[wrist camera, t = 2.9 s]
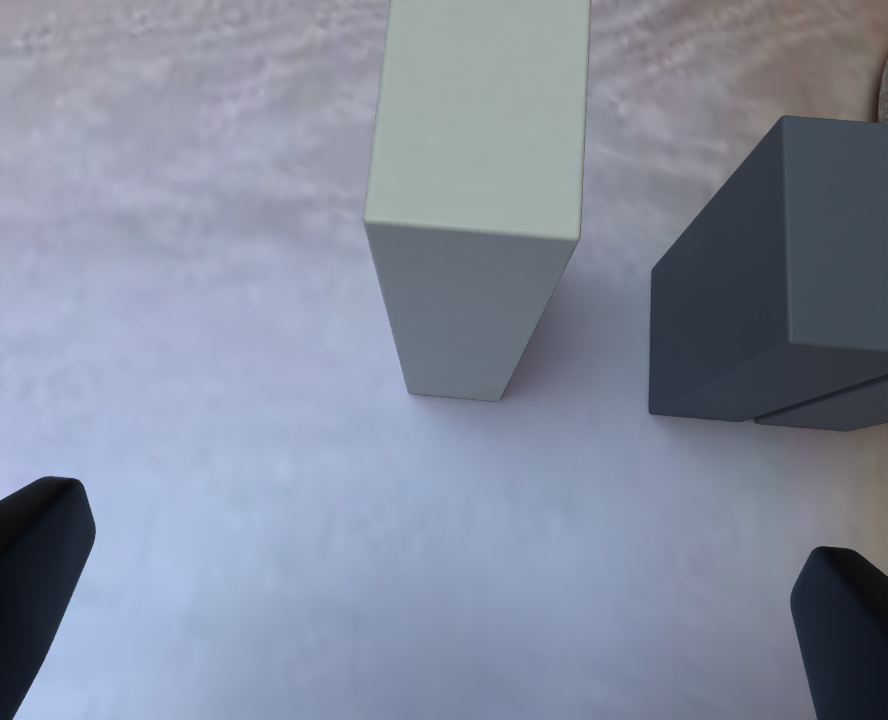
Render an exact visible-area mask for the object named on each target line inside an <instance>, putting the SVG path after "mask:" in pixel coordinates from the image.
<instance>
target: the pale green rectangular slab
mask: <svg viewBox="0 0 888 720" xmlns="http://www.w3.org/2000/svg"><path fill="white" fill-rule="evenodd" d="M590 20H591V0H390V5H389V13H388V21H387V29H386V37H385V45H384V53H383V61H382V69H381V76H380V84H379V92H378V100H377V108H376V116H375V124H374V132H373V140H372V147H371V155H370V163H369V171H368V179H367V187H366V195H365V203H364V210H363V218H362V219H363V223H364V227H365V231H366V234H367V238H368V242H369V246H370V250H371V253H372V257H373V261H374V265H375V269H376V273H377V276H378V280H379V284H380V288H381V292H382V295H383V299H384V303H385V307H386V311H387V315H388V318H389V322H390V326H391V330H392V334H393V337H394V341H395V345H396V349H397V353H398V357H399V360H400V364H401V368H402V372H403V376H404V380H405V383H406V387H407V391H408V393H409V394H418V395H429V396H441V397H452V398H463V399H474V400H486V401H497V402H498V401H499V400H500V398H501V396H502V394H503V392H504V390H505V388H506V386H507V384H508V382H509V380H510V378H511V376H512V374H513V372H514V370H515V368H516V366H517V364H518V362H519V360H520V358H521V356H522V354H523V352H524V350H525V348H526V346H527V344H528V342H529V340H530V338H531V336H532V334H533V332H534V330H535V328H536V326H537V324H538V322H539V320H540V318H541V316H542V314H543V312H544V310H545V308H546V306H547V304H548V302H549V300H550V298H551V296H552V294H553V292H554V290H555V288H556V286H557V284H558V282H559V280H560V278H561V276H562V274H563V272H564V270H565V268H566V266H567V264H568V262H569V260H570V258H571V256H572V254H573V251H574V249H575V247H576V245H577V243H578V241H579V239H580V237H581V216H582V194H583V172H584V151H585V129H586V107H587V85H588V64H589V42H590Z"/></svg>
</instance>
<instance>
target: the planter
mask: <svg viewBox="0 0 888 720" xmlns="http://www.w3.org/2000/svg"><path fill="white" fill-rule="evenodd" d="M878 123H885V124H888V56H887V59H886V62H885V66H884V70H883V74H882V79H881V84H880V91H879V101H878Z"/></svg>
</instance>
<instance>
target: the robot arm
mask: <svg viewBox="0 0 888 720" xmlns="http://www.w3.org/2000/svg"><path fill="white" fill-rule="evenodd" d="M95 534H96V527H95V522H94V519H93V515H92V512H91V508H90V505H89V502H88V498H87V495H86V491H85V488H84V486H83V484H82V483H81V482H80V481H79V480H77V479H75V478H65V477H54V476H47V477H42V478H40V479H38V480H36V481H34V482H32V483H31V484H29V485H27V486H25V487H23V488H22V489H20V490H18V491H16V492H15V493H13V494H11V495H9V496H7V497H6V498H4V499H2V500H0V720H13V718H14V716H15V714H16V712H17V710H18V709H19V707H20V705H21V703H22V701H23V699H24V698H25V696H26V694H27V692H28V690H29V688H30V687H31V685H32V683H33V681H34V679H35V677H36V675H37V673H38V671H39V669H40V668H41V666H42V664H43V662H44V660H45V657H46V655H47V653H48V651H49V649H50V646H51V644H52V642H53V640H54V637H55V635H56V633H57V630H58V628H59V625H60V623H61V621H62V618H63V616H64V613H65V611H66V609H67V606H68V604H69V602H70V599H71V597H72V594H73V592H74V590H75V587H76V585H77V582H78V580H79V578H80V575H81V573H82V571H83V568H84V566H85V563H86V561H87V559H88V556H89V554H90V551H91V549H92V547H93V544H94V540H95ZM790 604H791V612H792V616H793V620H794V624H795V629H796V633H797V637H798V641H799V645H800V650H801V654H802V658H803V662H804V667H805V671H806V675H807V679H808V683H809V688H810V692H811V696H812V700H813V705H814V709H815V713H816V717H817V720H888V576H886V575H885V574H884V573H883V572H881V571H880V570H879V569H878V568H876V567H875V566H874V565H873V564H871V563H870V562H869V561H868V560H866V559H865V558H864V557H863V556H861V555H860V554H859V553H857V552H856V551H854V550H851V549H848V548H837V547H826V546H820V547H817V548H815V549H814V550H813V551H812V552H811V553H810V555H809V557H808V559H807V561H806V563H805V565H804V567H803V569H802V571H801V573H800V575H799V577H798V579H797V581H796V583H795V585H794V587H793V589H792V592H791V599H790Z"/></svg>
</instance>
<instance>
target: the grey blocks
mask: <svg viewBox="0 0 888 720" xmlns="http://www.w3.org/2000/svg"><path fill="white" fill-rule="evenodd" d="M649 412H650V413H651V414H656V415H667V416H679V417H690V418H701V419H712V420H724V421H735V422H741V421H744V420H747V419H751V418H754V417H755V422H756V423H758V424H769V425H780V426H791V427H802V428H813V429H825V430H836V431H851V430H856V429H860V428H865V427H870V426H874V425H879V424H884V423H888V124H885V123H872V122H860V121H848V120H836V119H823V118H811V117H799V116H787V115H785V116H782V117H781V118H780V119H779V120H778V121H777V122H776V123H775V125H774V126H773V127H772V128H771V129H770V131H769V132H768V133H767V134H766V135H765V136H764V138H763V139H762V140H761V141H760V142H759V144H758V145H757V146H756V147H755V148H754V149H753V151H752V152H751V153H750V154H749V155H748V157H747V158H746V159H745V160H744V161H743V162H742V164H741V165H740V166H739V167H738V168H737V170H736V171H735V172H734V173H733V174H732V175H731V177H730V178H729V179H728V180H727V181H726V183H725V184H724V185H723V186H722V187H721V188H720V190H719V191H718V192H717V193H716V194H715V196H714V197H713V198H712V199H711V200H710V201H709V203H708V204H707V205H706V206H705V207H704V208H703V210H702V211H701V212H700V213H699V214H698V216H697V217H696V218H695V219H694V220H693V221H692V223H691V224H690V225H689V226H688V227H687V229H686V230H685V231H684V232H683V233H682V234H681V236H680V237H679V238H678V239H677V240H676V242H675V243H674V244H673V245H672V246H671V247H670V249H669V250H668V251H667V252H666V253H665V255H664V256H663V257H662V258H661V259H660V260H659V262H658V263H657V264H656V265H655V266H654V268H653V269H652V286H651V337H650V388H649Z"/></svg>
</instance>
